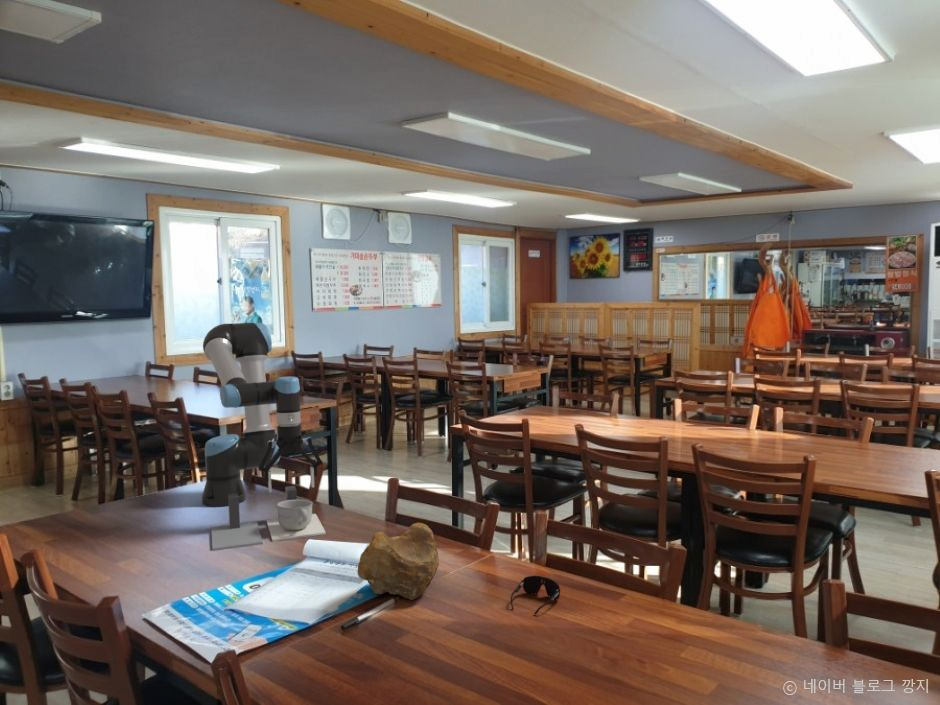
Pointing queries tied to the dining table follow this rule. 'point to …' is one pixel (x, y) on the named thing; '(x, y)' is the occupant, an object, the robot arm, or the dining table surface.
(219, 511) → the dining table surface
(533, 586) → the sunglasses
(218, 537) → the gray post stand
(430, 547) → the rough brown rock
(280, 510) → the teacup
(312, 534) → the grey plate with post
